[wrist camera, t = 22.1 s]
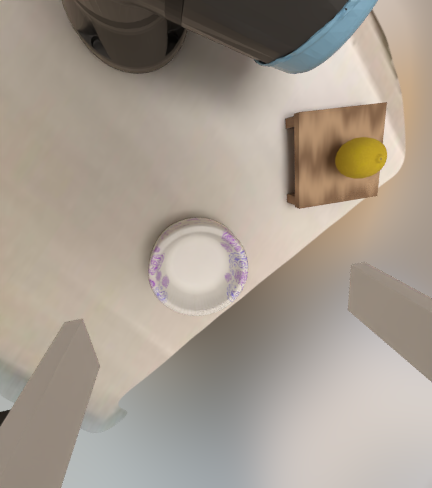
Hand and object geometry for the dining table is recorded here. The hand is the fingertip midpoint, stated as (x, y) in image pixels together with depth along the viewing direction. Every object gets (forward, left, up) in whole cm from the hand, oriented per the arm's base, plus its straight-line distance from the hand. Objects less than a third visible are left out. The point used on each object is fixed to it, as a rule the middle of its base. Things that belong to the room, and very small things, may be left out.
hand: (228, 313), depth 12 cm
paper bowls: (+10, 0, -32) cm, 33 cm away
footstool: (-4, +18, -29) cm, 35 cm away
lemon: (-4, +25, -27) cm, 37 cm away
